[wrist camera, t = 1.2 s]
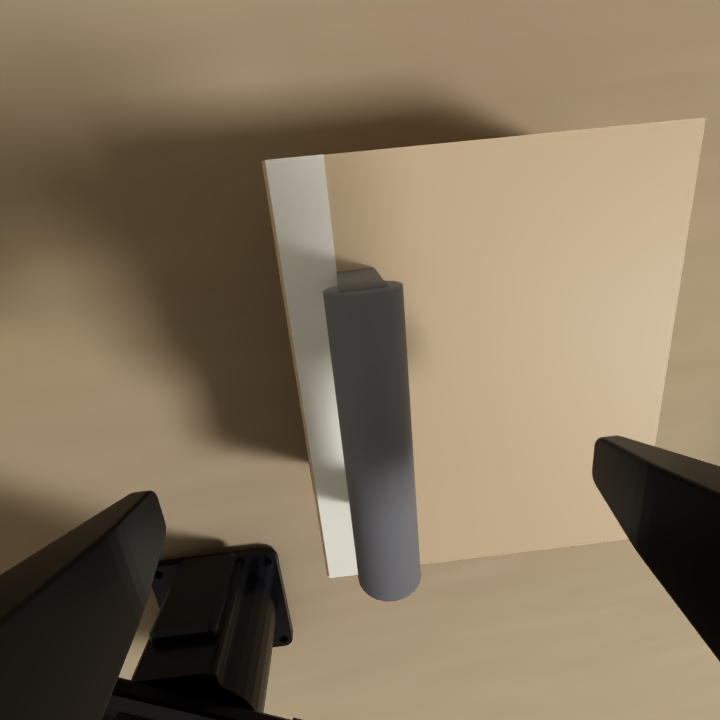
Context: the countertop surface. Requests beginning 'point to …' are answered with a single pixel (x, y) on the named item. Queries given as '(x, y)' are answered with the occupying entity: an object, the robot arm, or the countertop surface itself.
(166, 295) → the countertop surface
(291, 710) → the countertop surface
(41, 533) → the countertop surface
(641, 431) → the beige handled lid
